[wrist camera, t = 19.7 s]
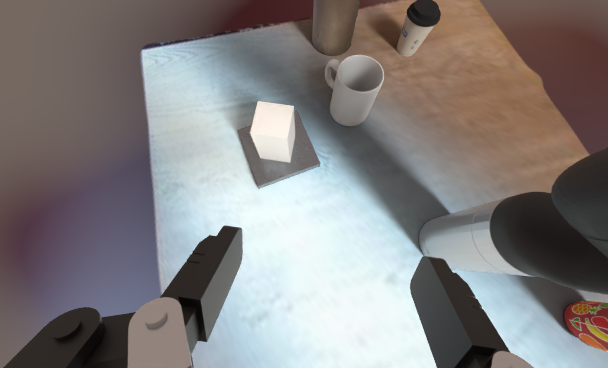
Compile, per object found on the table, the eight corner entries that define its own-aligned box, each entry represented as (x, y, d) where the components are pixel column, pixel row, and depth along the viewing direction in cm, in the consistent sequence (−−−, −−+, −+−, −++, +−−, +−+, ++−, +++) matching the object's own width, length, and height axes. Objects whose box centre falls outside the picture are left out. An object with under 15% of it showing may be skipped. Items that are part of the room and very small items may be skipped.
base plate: (296, 114, 51) (295, 89, 44) (319, 166, 48) (323, 148, 40) (239, 133, 50) (228, 111, 42) (259, 188, 46) (250, 175, 39)
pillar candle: (358, 48, 57) (377, -23, 43) (322, 61, 56) (329, -7, 41) (339, 21, 60) (350, -54, 45) (304, 33, 58) (305, -40, 44)
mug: (375, 110, 52) (394, 73, 41) (350, 134, 50) (363, 102, 40) (336, 78, 54) (344, 35, 44) (310, 100, 53) (312, 61, 42)
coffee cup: (424, 44, 58) (448, 1, 48) (415, 64, 56) (438, 24, 46) (397, 34, 58) (416, -10, 49) (387, 53, 57) (405, 12, 47)
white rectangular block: (295, 135, 48) (293, 106, 39) (290, 162, 46) (287, 138, 37) (266, 131, 48) (257, 101, 39) (260, 158, 47) (249, 133, 37)
